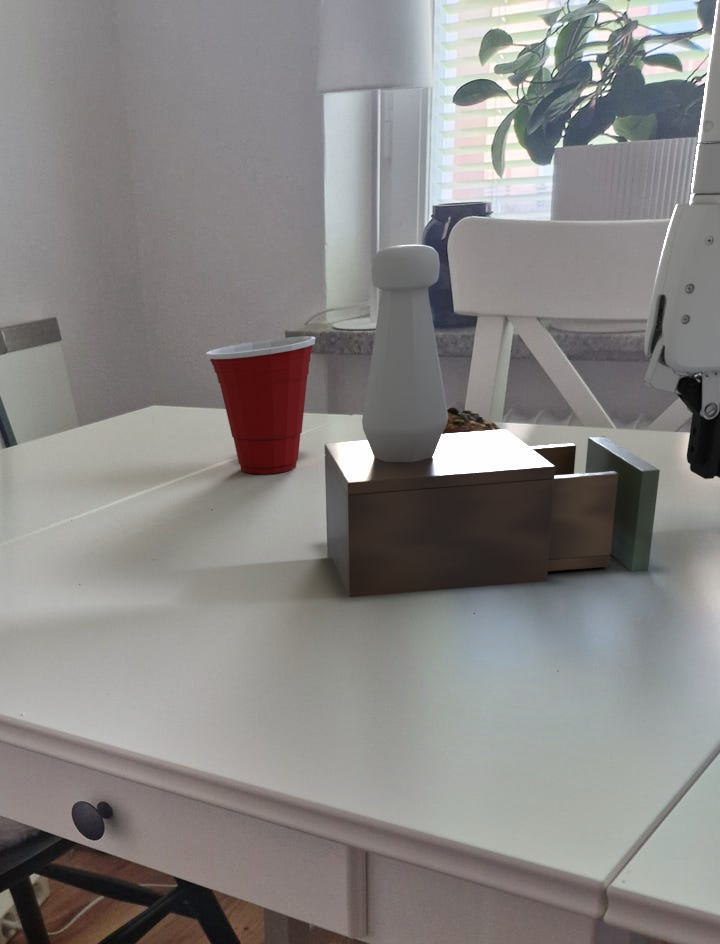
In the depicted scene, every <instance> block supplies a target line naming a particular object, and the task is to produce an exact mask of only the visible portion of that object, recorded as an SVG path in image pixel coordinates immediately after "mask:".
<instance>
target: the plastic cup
mask: <svg viewBox="0 0 720 944" xmlns="http://www.w3.org/2000/svg"><path fill="white" fill-rule="evenodd" d="M315 344H316V337H315V336H307V335H306V336H291V337H281V338H271V339H265V340H264V339H263V340H258V341H251V342H244V343H238V344H233V345H228V346H224V347H220V348H215V349H211V350H209V351H206V353H205V356H206V358H207V359H209V360H210V363H211V365H212V366H213V370H214V373H215V374H216V379H217V380H218V384H219V386H220V390H221V395H222V400H223V403H224V408H225V412H226V416H227V419H228V424H229V429H230V433H231V437H232V438H233V441H234V447H235V451H236V456H237V462H238V464H239V466H240V470H241V472H244V473H248V474H251V475H253V474H255V475H265V474H266V475H268V474H269V475H270V474H278V473H284V472H285V473H286V472H288V471H292V470H294V469H296V468H297V462H298V460H299V452H300V442H301V434H302V433H303V422H304V415H305V414H304V412H305V403H306V395H307V384H308V375H309V373H310V363H311V354H312V352H313V351H312V350H313V346H314V345H315Z"/></svg>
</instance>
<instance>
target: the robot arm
mask: <svg viewBox="0 0 720 944" xmlns="http://www.w3.org/2000/svg"><path fill="white" fill-rule="evenodd" d="M712 27H713V28H712V34H711V43H710V50H709V56H708V57H709V58H708V64H707V72H706V80H705V87H704V95H703V101H702V102H703V103H702V109H701V117H700V123H699V124H700V125H699V132H698V139H697V143H698V144H697V146H696V152H695V153H696V154H695V160H694V167H693V168H694V169H693V175H692V176H693V177H692V183H691V191H690V193H691V194H690V197H689V202H680V203H678V202H677V203H676V205H675V207H674V210H673V213H672V216H671V219H670V222H669V225H668V227H667V232H666V236H665V239H664V242H663V247H662V251H661V254H660V258H659V263H658V266H657V270H656V275H655V280H654V284H653V290H652V293H651V299H650V304H649V309H648V314H647V321H646V327H645V335H644V345H643V346H644V347H643V349H644V350H643V351H644V355H645V357H646V358H647V359H648V360H649V362H648V366H647V368H646V371H645V374H644V376H643V383H644V385H645V386H647V387H649V388H652V389H654V390H657V391H662V392H666V393H667V392H668V393H670V394H671V393H672V394H676V395H677V396H678V398H679V399H680V400H681V402H683V404H684V405H685V406H686V409H687V411H688V412H689V413H692V416H691V423H690V429H689V435H688V443H687V448H686V449H687V451H686V461H687V463H688V464H689V470H690V472H692V473H693V474H695V475H697V476H699V477H700V478H702V479H704V480H711V479H712V480H713V479H714V478H715V477H717V478H719V479H720V0H716V4H715V12H714V20H713V26H712ZM676 371H679V372H676ZM680 372H684V373H680ZM685 373H686V374H685Z"/></svg>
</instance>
